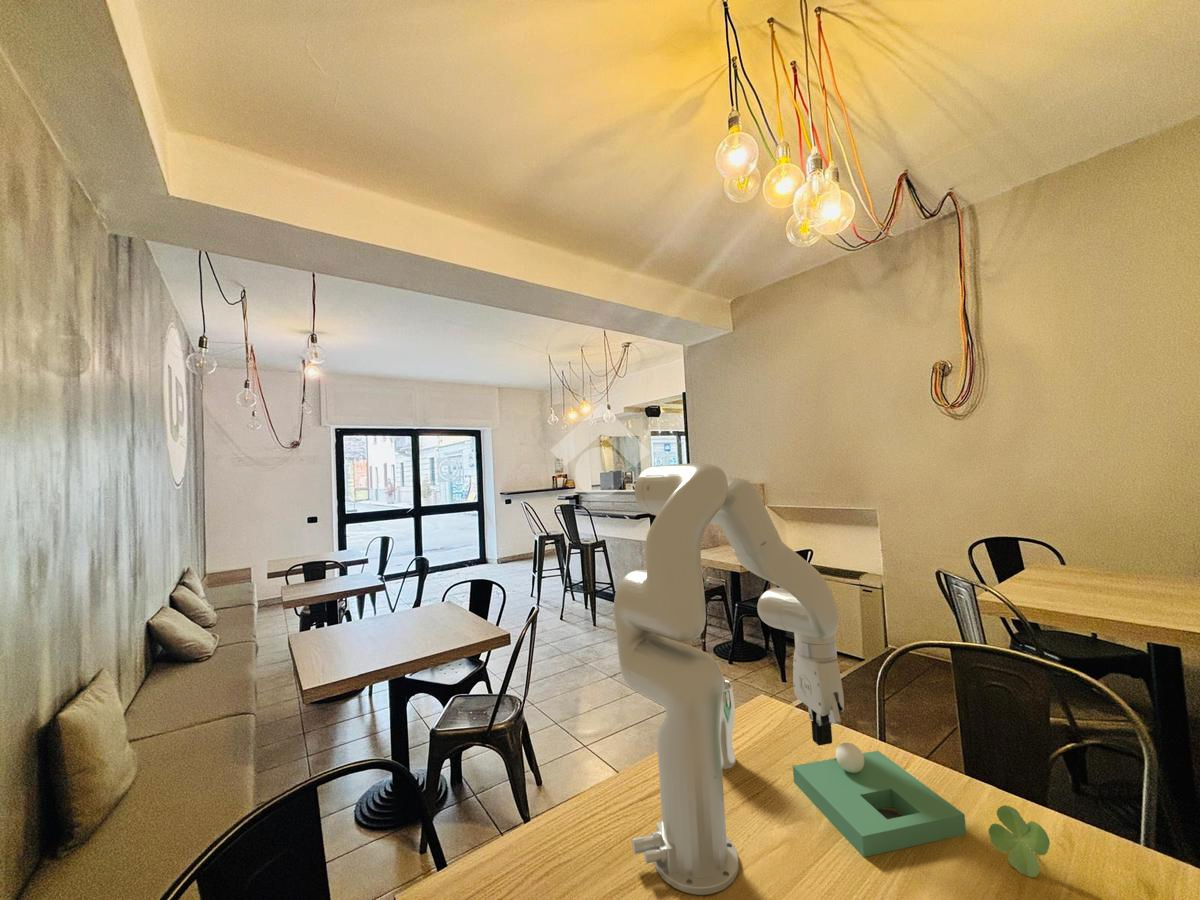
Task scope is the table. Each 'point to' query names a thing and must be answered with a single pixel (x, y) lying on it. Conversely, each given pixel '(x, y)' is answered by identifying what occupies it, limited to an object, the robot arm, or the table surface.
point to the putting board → (878, 804)
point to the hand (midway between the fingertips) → (822, 742)
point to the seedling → (1019, 840)
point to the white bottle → (727, 726)
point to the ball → (850, 757)
